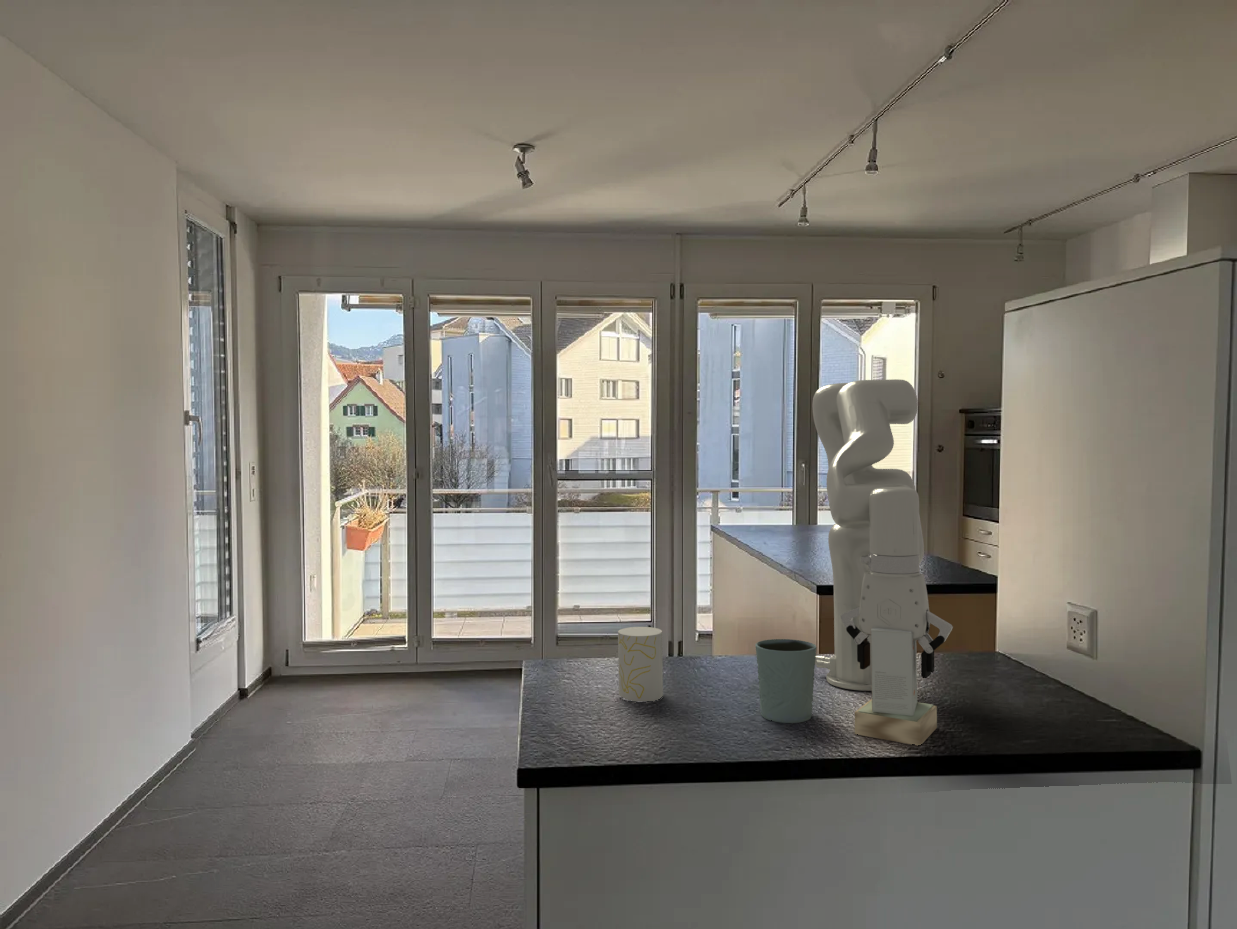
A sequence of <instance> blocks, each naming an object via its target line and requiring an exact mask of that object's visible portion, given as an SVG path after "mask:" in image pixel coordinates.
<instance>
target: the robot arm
mask: <svg viewBox="0 0 1237 929" xmlns="http://www.w3.org/2000/svg"><path fill="white" fill-rule="evenodd" d="M812 397H813V398H812V416H813V423H814V425H815V429H816V432H817V434H818V437H819V439H820V441H821V444H822V447H823V448H824V451H825V454H826V458H827V468H828V469H827V473H826V491H827V498H828V499H827V500H828V503H829V511H830V515H831V518H832V520H833V521H834V523H835V524H833V525H831V528H830V530H829V532H828V538H827V540H828V548H829V549H828V550H829V556H830V561H831V570H832V581H833V618H834V620H833V625H834V626H833V628H834V629H833V630H834V632H833V633H834V634H833V636H834V637H833V638H834V640H833V641H834V646H833V647H834V655H831V657H829V656H826V655H825V656H823V655H816V659H815V666H816V668H821V669H827V670H828V671H829V672H827V674H826V682H827V683H828V684H830V685H832V686H834V687H836V688H841V689H845V690H849V691H850V690H851V691H852V690H853V691H861V692H862V691H863V692H872V670H871V629H872V628H883V629H893V630H902V631H911V632H912V633H913V640H916V642H918V644H919V645H920V646H921V648H922V649H923V652H921V654H920V657H921V658H920V665H921V667H920V669H921V670H920V673H921V674H920V677H921V678H922V679H928V678H929V677H930V676H931V674H932V673H934V672H935V650H936V649H939V647H940V646H941V645H943V644H944V643H945V642H946V641H947V639H948V637H949V635H950V634H951V632H952V631H953V628H954V626H953V625H952V624H951V623H949V622H948V621H946V620H944V619H942V618H941V617H939V616H937V615H936V614H935V613H933V612H931V611H930V607H929V606H930V605H929V597H928V596H929V595H928V590H927V584H926V578H925V575H924V574H923V573H920V564H921V563H922V561H923V558H924V553H925V551H924V550H925V545H924V544H925V543H924V536H923V528H922V522H921V516H920V496H919V493H918V492H917V489H916V486H915V482H914V480H913V478H912V476H911V475H910V474H909V473H908V472H907V471H905V470H903V469H899V468H875V467H874V466H873V465H875V464H877V463H879V462H881V461H883V460H884V459H885V458H887V456H888V457H889V455H890V453H891V452H892V451H893V448H894V445H895V441H894V436H893V432H892V427H891V425H908V424H910V423H912V422H913V421H914V420H915V419H916V416H917V414H918V408H919V407H918V406H919V405H918V404H919V403H918V395H917V393H916V390H915V388H914V386H913V385H912V384H911V383H910V382H909V381H907V380H905V379H899V378H898V379H893V378H892V379H863V380H861V379H860V380H854V381H850V382H838V383H831V384H827V385H824V386H821V387H820V388H818V389H817V390H816V391H815V393H813V396H812ZM930 625H933V626H934V627H936V628H938V630H939V632H938V634H937V636H936V637H935V638H934V639H933V638H932V637H931V635H930V634H929V632H930V628H931V626H930Z"/></svg>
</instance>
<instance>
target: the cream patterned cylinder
mask: <svg viewBox="0 0 1237 929" xmlns="http://www.w3.org/2000/svg"><path fill="white" fill-rule="evenodd" d="M617 643H618V644H617V648H618V649H617V650H618V652H617V653H618V656H617V657H618V658H617V659H618V660H617V661H618V662H617V664H618V666H617V667H618V696H619V695H620V696H621V697H623V698H625V699H628V700H632V701H653V702H656V701H655V700H657V701H659V700H658V699H660V698H661V697H662V696H663V697H664V685H663V684H664V682H663V681H664V679H663V678H664V677H663V676H664V674H663V671H664V670H663V630H662V629H660V628H658V627H657V628H656V627H649V626H629V627H624V628H621V629H619V630H617ZM663 697H662V698H663ZM662 698H661V699H662ZM661 699H660V700H661Z"/></svg>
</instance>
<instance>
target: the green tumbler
mask: <svg viewBox="0 0 1237 929" xmlns="http://www.w3.org/2000/svg"><path fill="white" fill-rule="evenodd" d="M754 646H755V653H756V654H755V656H756V663H757V679H758V693H759V694H758V695H759V708H760V714H761V716H762V718H764V719H765V720H768V721H771V720H772V721H771V722H774V723H775V722H776V723H781V724H782V723H783V724H798V723H803V722H807V721H809V720H811V718H812V715H813V699H814V687H815V686H814V684H815V667H816V664H815V659H816V656H817V645H816V644H815V643H813V642H810V641H804V640H801V639H800V640H799V639H788V638H776V639H775V638H773V639H764V640H760V641H758V642H755V645H754Z"/></svg>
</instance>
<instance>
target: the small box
mask: <svg viewBox="0 0 1237 929" xmlns="http://www.w3.org/2000/svg"><path fill="white" fill-rule="evenodd" d="M917 659H918V658H917V640H913V633H912V632H911V631H902V630H893V629H883V628H872V629H871V670H872V691H871V699H872V711H873V712H878V713H888V714H897V715H907V716H913V715H914V712H915V709H916V705H917V702H918V682H917V681H918V679H917V678H918V674H917V669H918V668H917V666H918V665H917V664H918V663H917V662H918V661H917Z"/></svg>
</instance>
